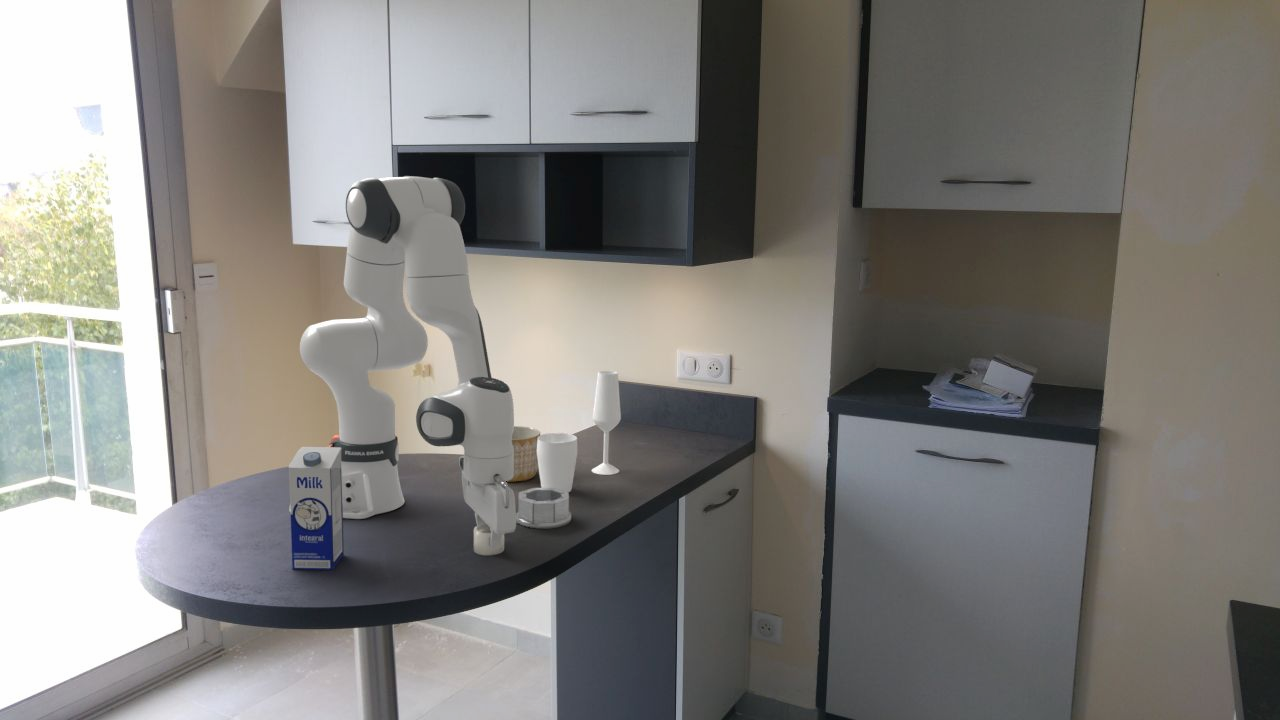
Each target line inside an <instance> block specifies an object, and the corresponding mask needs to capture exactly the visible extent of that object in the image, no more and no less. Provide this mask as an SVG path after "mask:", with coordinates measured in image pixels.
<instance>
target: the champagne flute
mask: <svg viewBox="0 0 1280 720" xmlns="http://www.w3.org/2000/svg"><path fill="white" fill-rule="evenodd" d="M619 385H620V384H619V372H618V371H615V370H599V371H598V372H597V377H596V385H595V393H594V394H595V395H594V401H593V402H594V403H593V411H592V420H593V422H594V424H595V426H597V427H598V428H599V429H600V430H601V431H602V432H603V453H602V454H603V456H602V457H603V460H602V463H600V464H599V465H597V466H595V467H593V468H592V469H591V472H592V473H593V474H597V475H601V476H603V475H605V476H607V475H615V474H618V473H619V472H620V470H619V469H618V468H616V466H614V465H612V464H611V463H609V441H610V439H609V438H610V432H611V431H612V430H614V428H615V427H617V426H618V424H619V423H620V422H621V419H622V413H621V400H620V386H619Z"/></svg>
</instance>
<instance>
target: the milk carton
mask: <svg viewBox="0 0 1280 720" xmlns="http://www.w3.org/2000/svg"><path fill="white" fill-rule="evenodd" d="M287 468H288V479H289V481H288V482H289V483H288V485H289V509H290V510H289V512H290V534H291V535H290V536H291V537H290V538H291V562H292V563H291V566H292V567H291V569H292V570H305V571H306V570H309V571H311V570H312V571H314V570H315V571H333V570H334V568H335V567H336V566H337V565H338V564H339V562H340V561H341V560H342V558H343V557H344V555H345V554H344V550H345V549H344V547H345V546H344V521H343V519H344V518H343V507H342V468H341V447H329V446H301V447H300V448H299V449H298V450H297V452H296V453H295V455H294V457H293V458H292V460H291V461H290V463H289V465H288V466H287Z"/></svg>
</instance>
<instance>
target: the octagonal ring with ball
mask: <svg viewBox="0 0 1280 720" xmlns="http://www.w3.org/2000/svg"><path fill="white" fill-rule="evenodd" d="M569 493H570V492H566V491H563V490H560V489H556V488H541V487H532V488H529V489H528V488H527V489H526V490H522V491H519V492H518V501H517V502H518V506H517V508H518V510H516V524H518V523H519V524H520V526H521V525H522V527H524V526H526V527H525V528H528V527H530V528H529V529H534V528H535V529H536V530H549V529H550V530H551V529H557V528H562V527H564V526H566V525H568V524H570V523H571V522H572V513H571V511H570V494H569ZM519 524H518V525H519ZM535 529H534V530H535Z"/></svg>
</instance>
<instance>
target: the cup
mask: <svg viewBox="0 0 1280 720" xmlns="http://www.w3.org/2000/svg"><path fill="white" fill-rule="evenodd" d="M577 458H578V437H577V436H576V435H574V434H572V433H571V434H570V433H564V432H562V433H561V432H550V433H544V434H540V436H538V439H537V459H538V461H537V467H538V473H539V479H540V488H556V489H560V490H563V491H566V492H568V493H570V492H571V491H572V488H573V481H574V476H575V469H576V463H577Z"/></svg>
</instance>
